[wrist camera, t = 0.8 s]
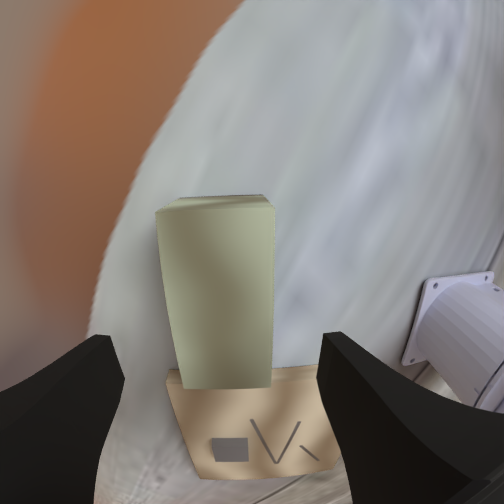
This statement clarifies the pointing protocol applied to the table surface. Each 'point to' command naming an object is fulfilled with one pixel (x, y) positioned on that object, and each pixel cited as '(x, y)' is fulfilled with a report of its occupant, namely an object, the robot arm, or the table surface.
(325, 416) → the board
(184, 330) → the block
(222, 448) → the small gray block
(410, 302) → the table surface
